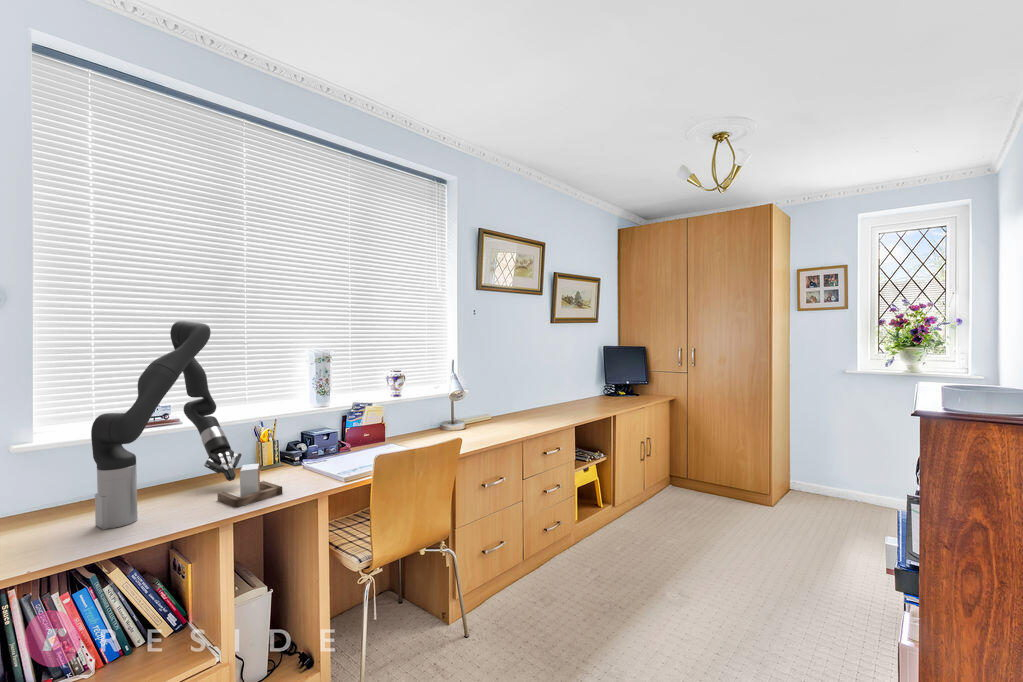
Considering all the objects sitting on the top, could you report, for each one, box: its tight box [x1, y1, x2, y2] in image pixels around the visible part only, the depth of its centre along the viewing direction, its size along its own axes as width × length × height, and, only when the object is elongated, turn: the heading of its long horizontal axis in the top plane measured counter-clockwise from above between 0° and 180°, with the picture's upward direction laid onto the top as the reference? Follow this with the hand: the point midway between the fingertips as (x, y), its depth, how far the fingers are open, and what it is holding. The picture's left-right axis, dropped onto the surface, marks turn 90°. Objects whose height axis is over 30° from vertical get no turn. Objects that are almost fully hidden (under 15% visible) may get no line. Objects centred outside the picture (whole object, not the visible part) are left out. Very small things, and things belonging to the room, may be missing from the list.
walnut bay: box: [217, 480, 283, 508], centre depth 168 cm, size 16×12×2 cm
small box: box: [239, 463, 261, 497], centre depth 168 cm, size 8×6×10 cm
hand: (232, 479), depth 175 cm, fingers closed
